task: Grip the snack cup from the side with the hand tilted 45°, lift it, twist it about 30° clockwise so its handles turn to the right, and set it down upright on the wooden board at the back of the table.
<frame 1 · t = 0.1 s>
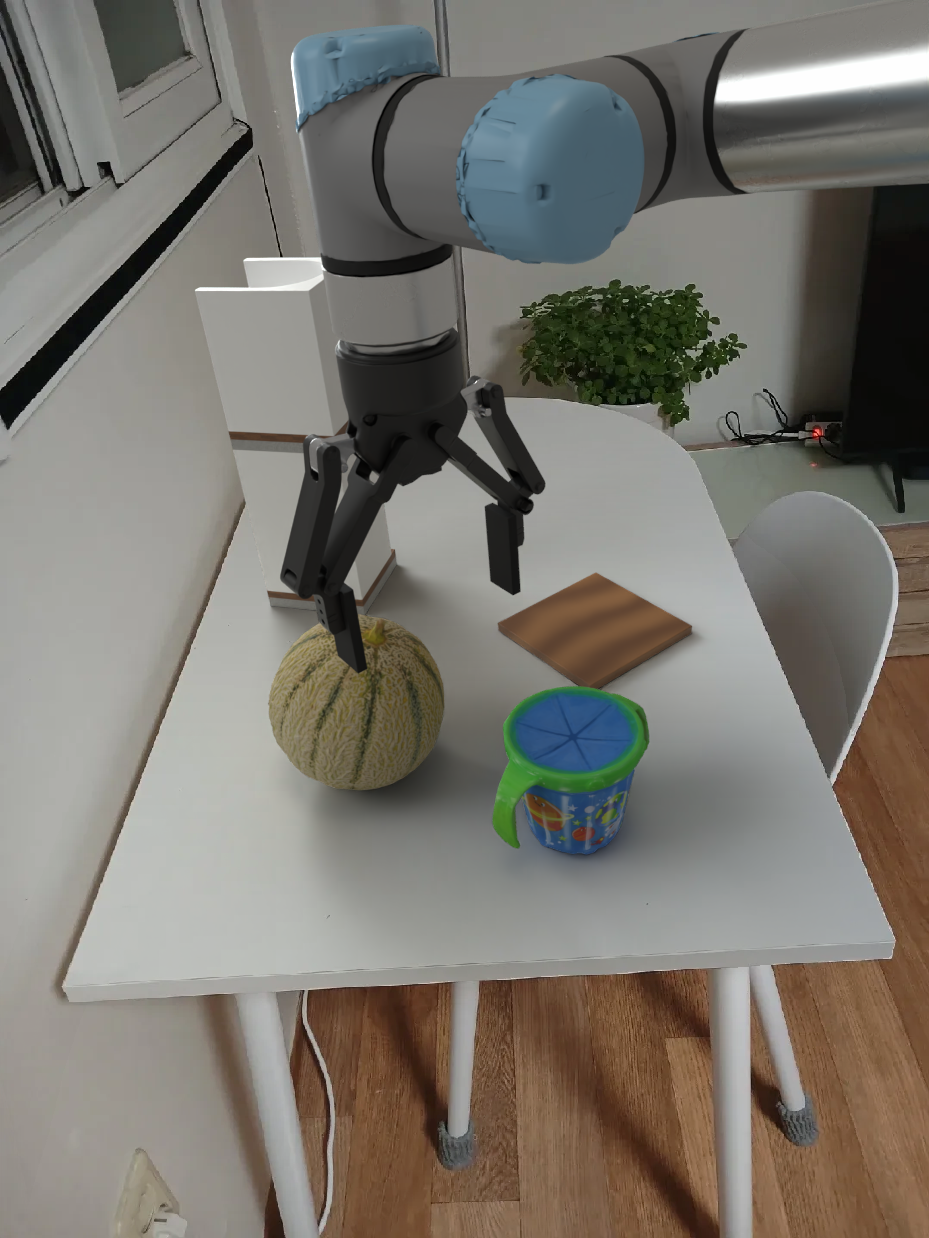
hand: (432, 623, 69), 19 cm above the table, tool pointing down, fingers open, 13 cm apart
snack cup: (575, 824, 77), on the table
striped white pillar: (335, 585, 110), on the table
cantaloupe: (370, 766, 85), on the table
wooden board: (593, 632, 98), on the table
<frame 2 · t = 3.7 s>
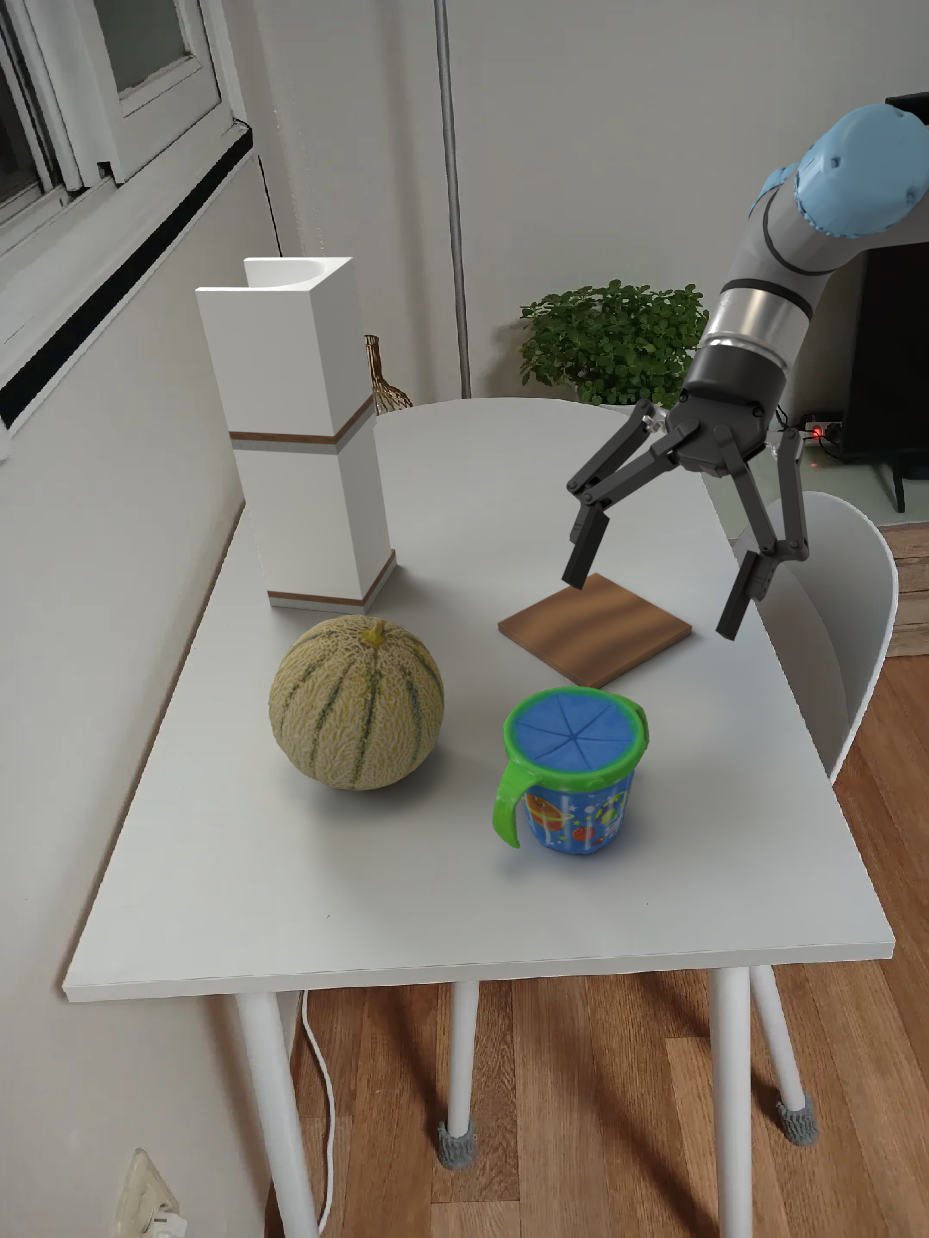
hand: (644, 610, 75), 15 cm above the table, tool tilted 45°, fingers open, 13 cm apart
nothing on the table moved.
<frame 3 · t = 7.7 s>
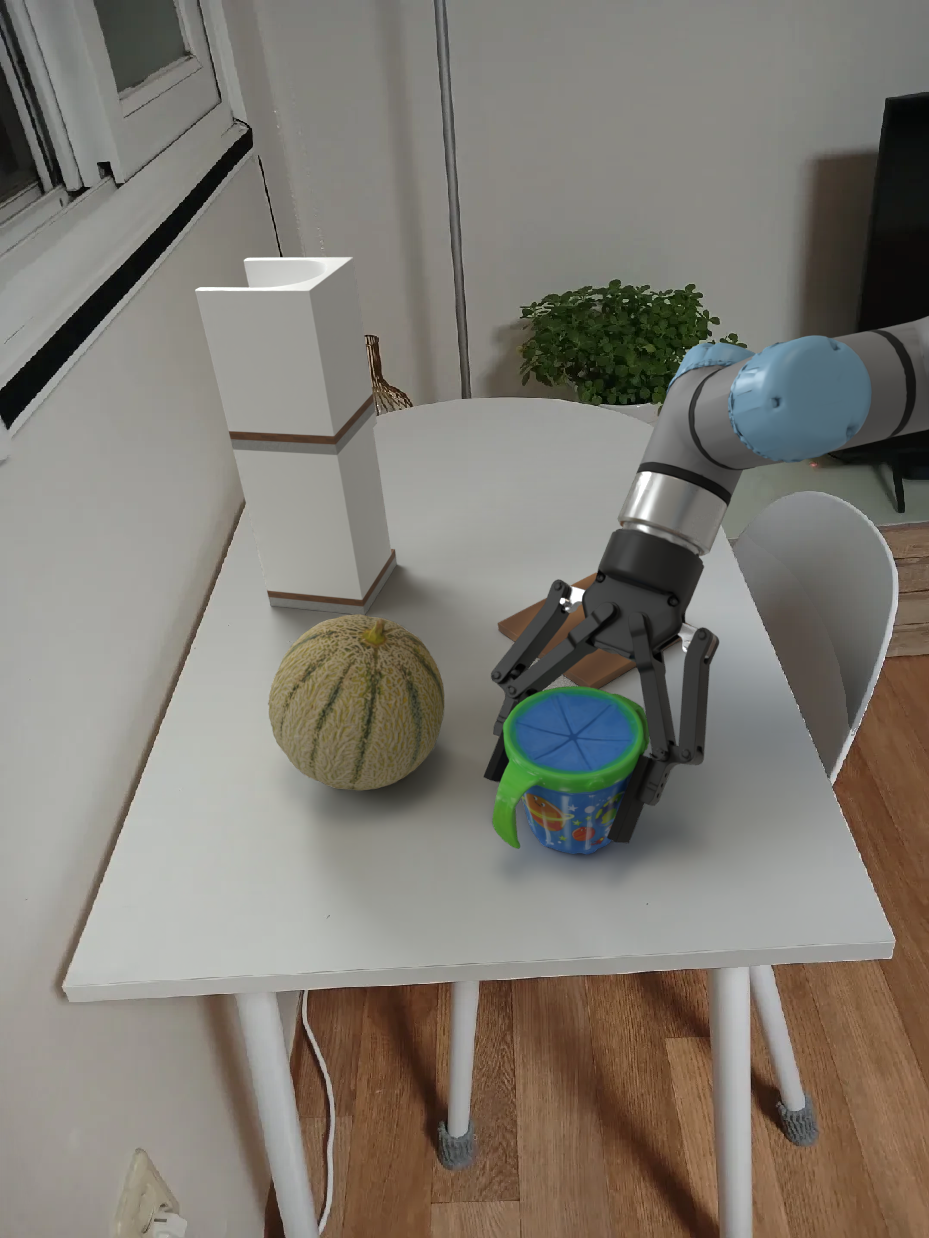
hand: (553, 809, 73), 4 cm above the table, tool tilted 45°, fingers closed on snack cup, 10 cm apart
snack cup: (575, 824, 77), on the table, touching gripper
everything else where it was.
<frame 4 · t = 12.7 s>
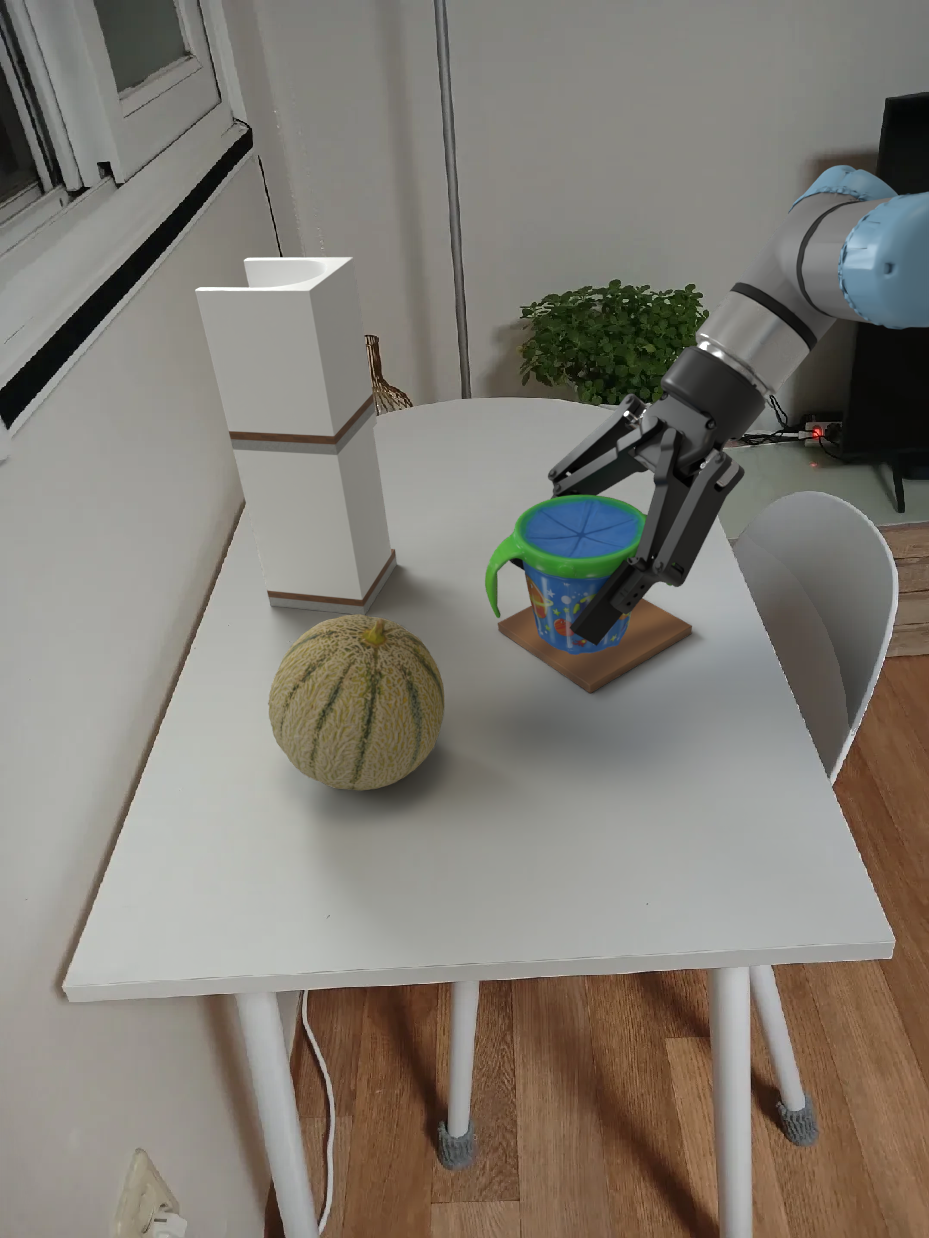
hand: (549, 600, 76), 15 cm above the table, tool tilted 45°, fingers closed on snack cup, 10 cm apart
snack cup: (582, 632, 80), point 11 cm above the table, touching gripper
everything else where it was.
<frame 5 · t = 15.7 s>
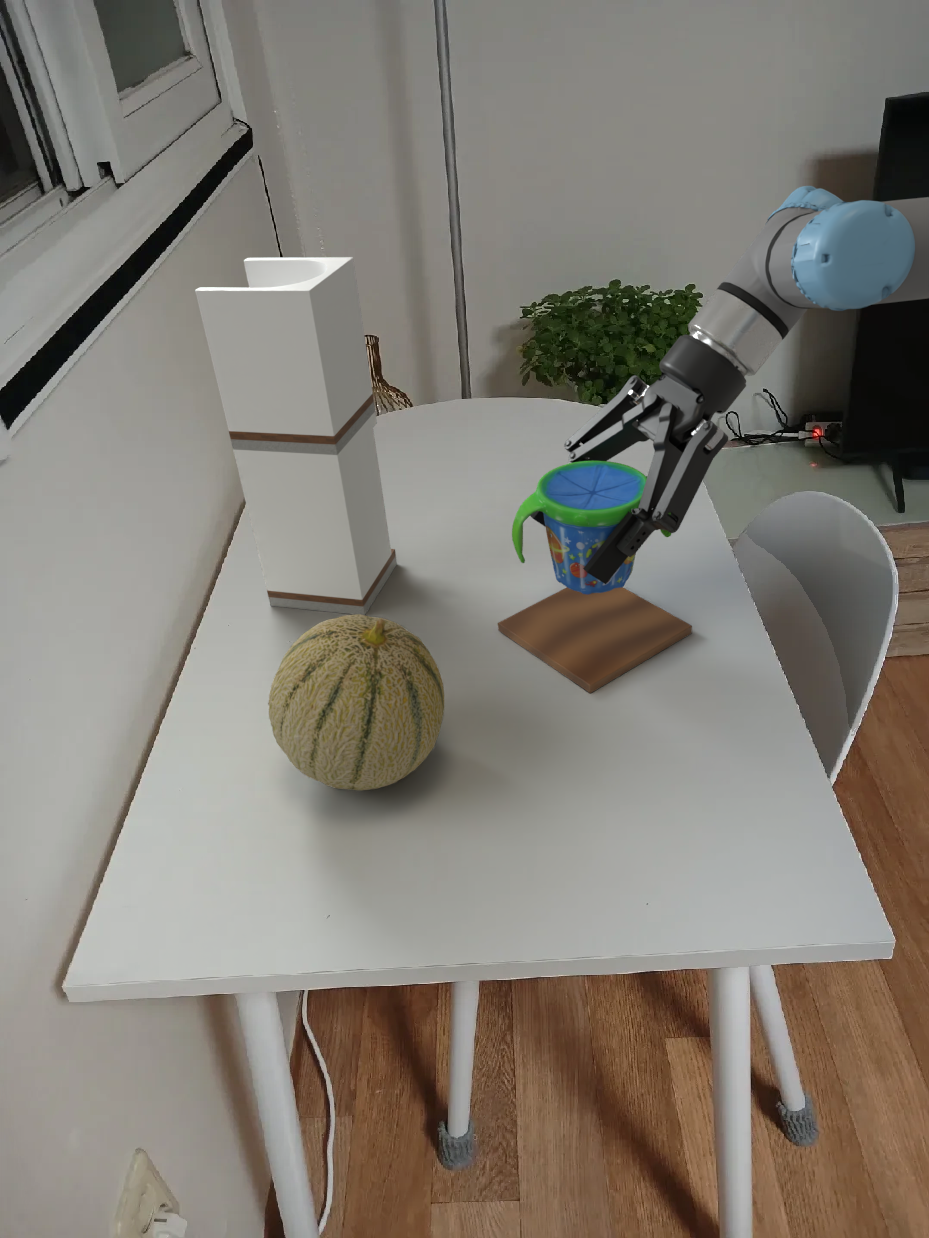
hand: (566, 548, 91), 11 cm above the table, tool tilted 45°, fingers closed on snack cup, 10 cm apart
snack cup: (593, 578, 94), point 7 cm above the table, touching gripper
everything else where it was.
when the fingers open (5 cm above the table, at t = 17.9 s): snack cup stays where it is, resting on wooden board.
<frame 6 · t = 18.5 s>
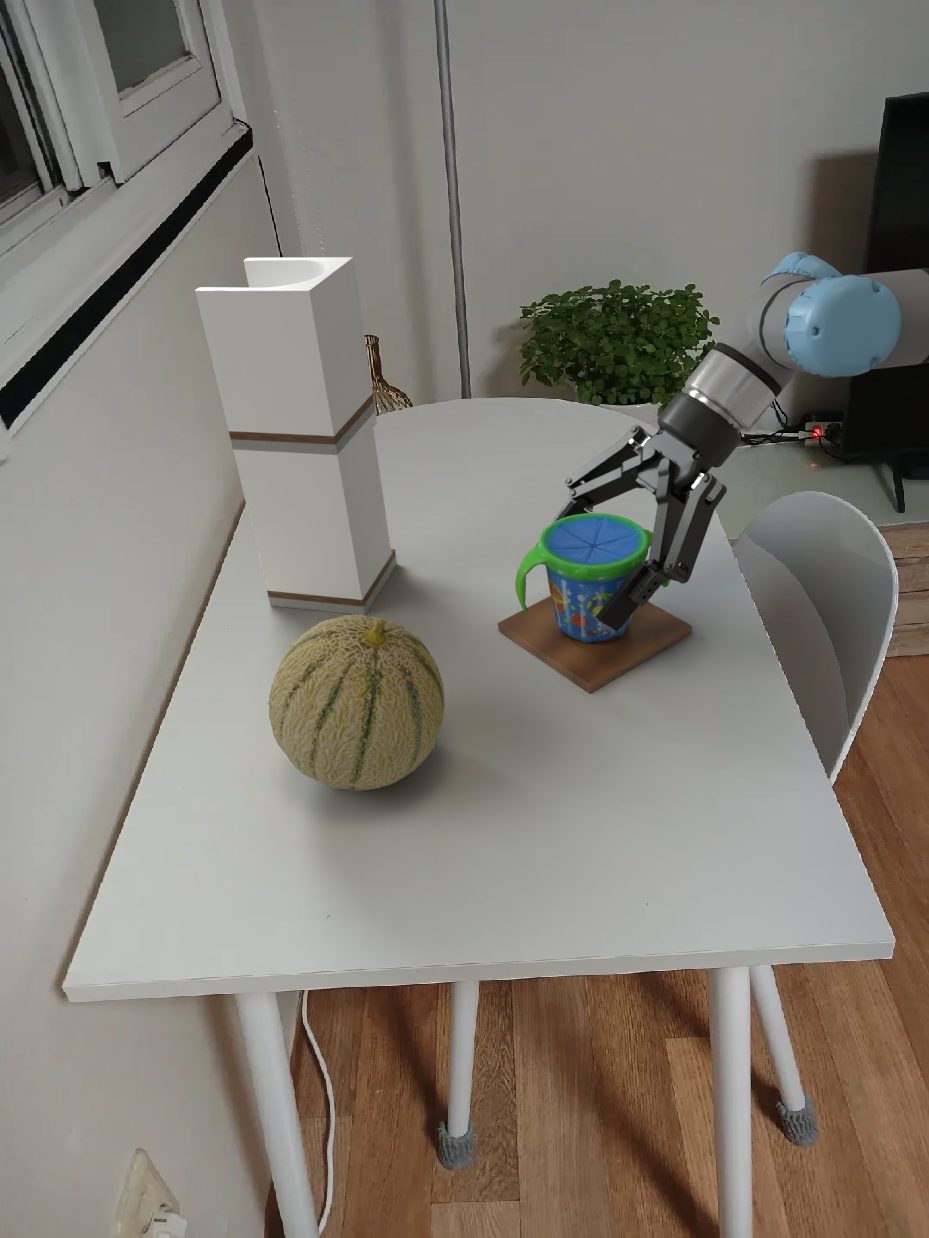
hand: (572, 589, 94), 6 cm above the table, tool tilted 45°, fingers open, 13 cm apart
snack cup: (593, 625, 98), point 1 cm above the table, touching wooden board
everything else where it was.
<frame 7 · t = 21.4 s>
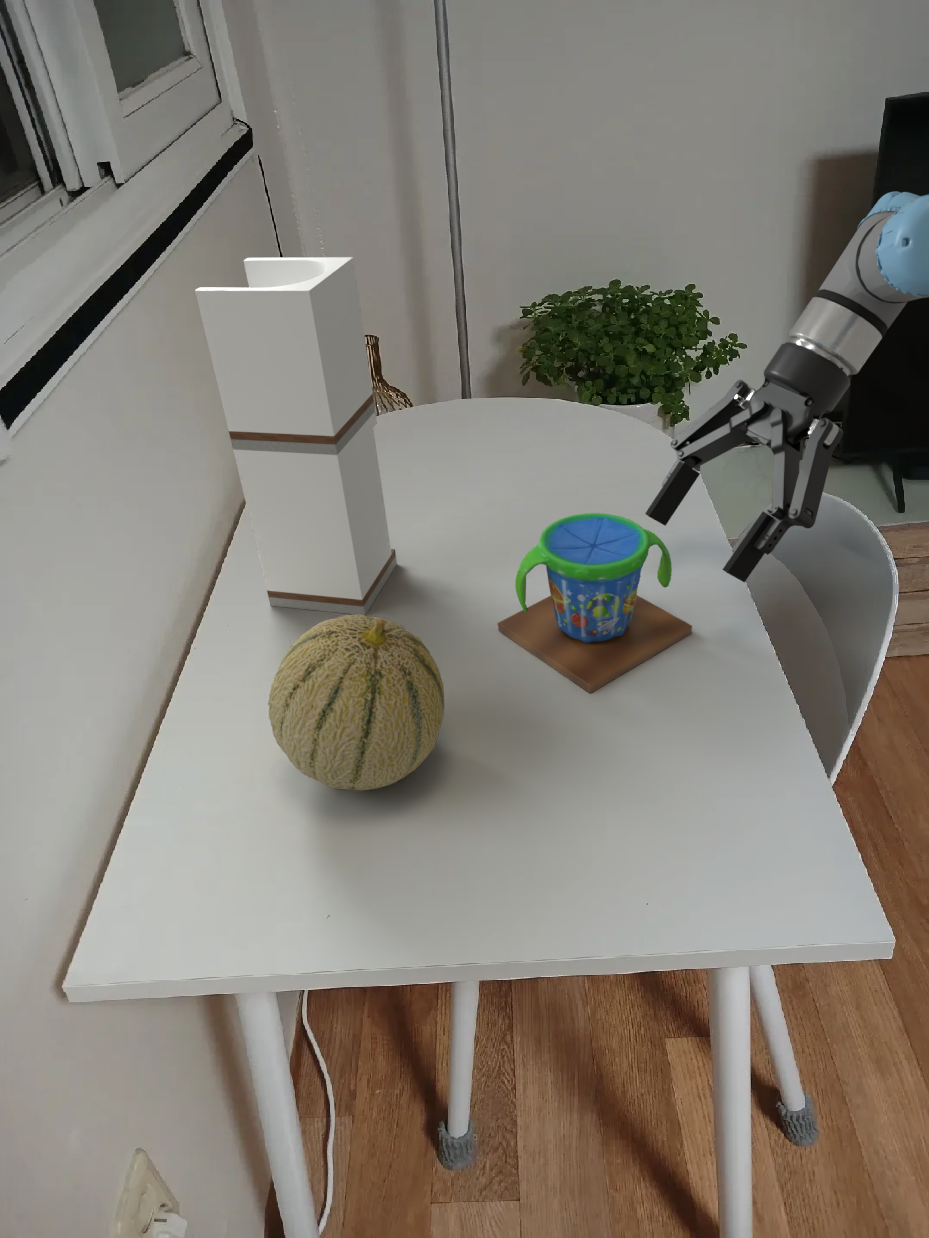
hand: (691, 546, 96), 7 cm above the table, tool tilted 40°, fingers open, 13 cm apart
nothing on the table moved.
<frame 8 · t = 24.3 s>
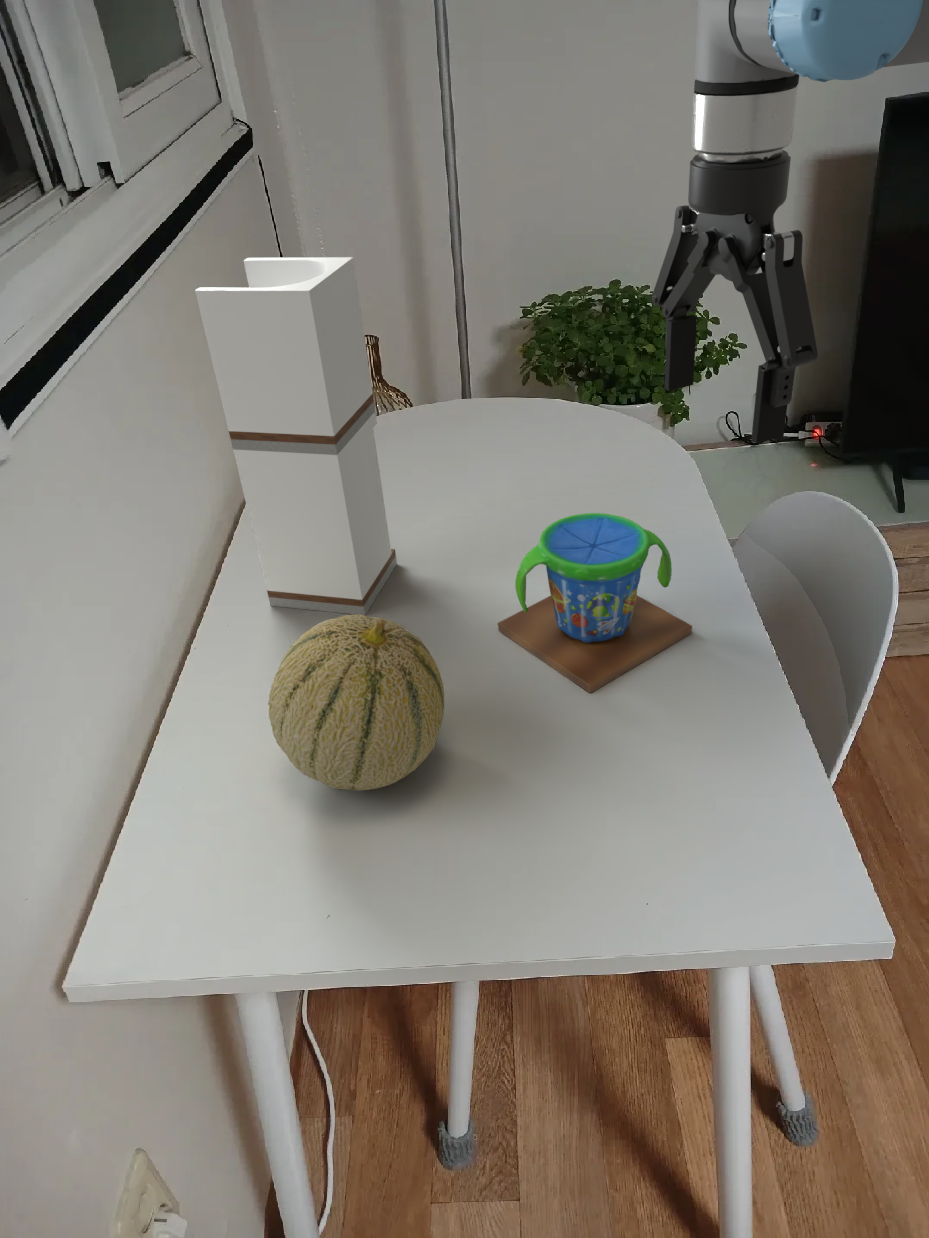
hand: (720, 411, 85), 23 cm above the table, tool pointing down, fingers open, 13 cm apart
nothing on the table moved.
at the end: snack cup inside the target area on the wooden board (0.0 cm from its centre), point 0.8 cm above the wooden board's base; snack cup tilted 0°; the gripper is holding nothing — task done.
